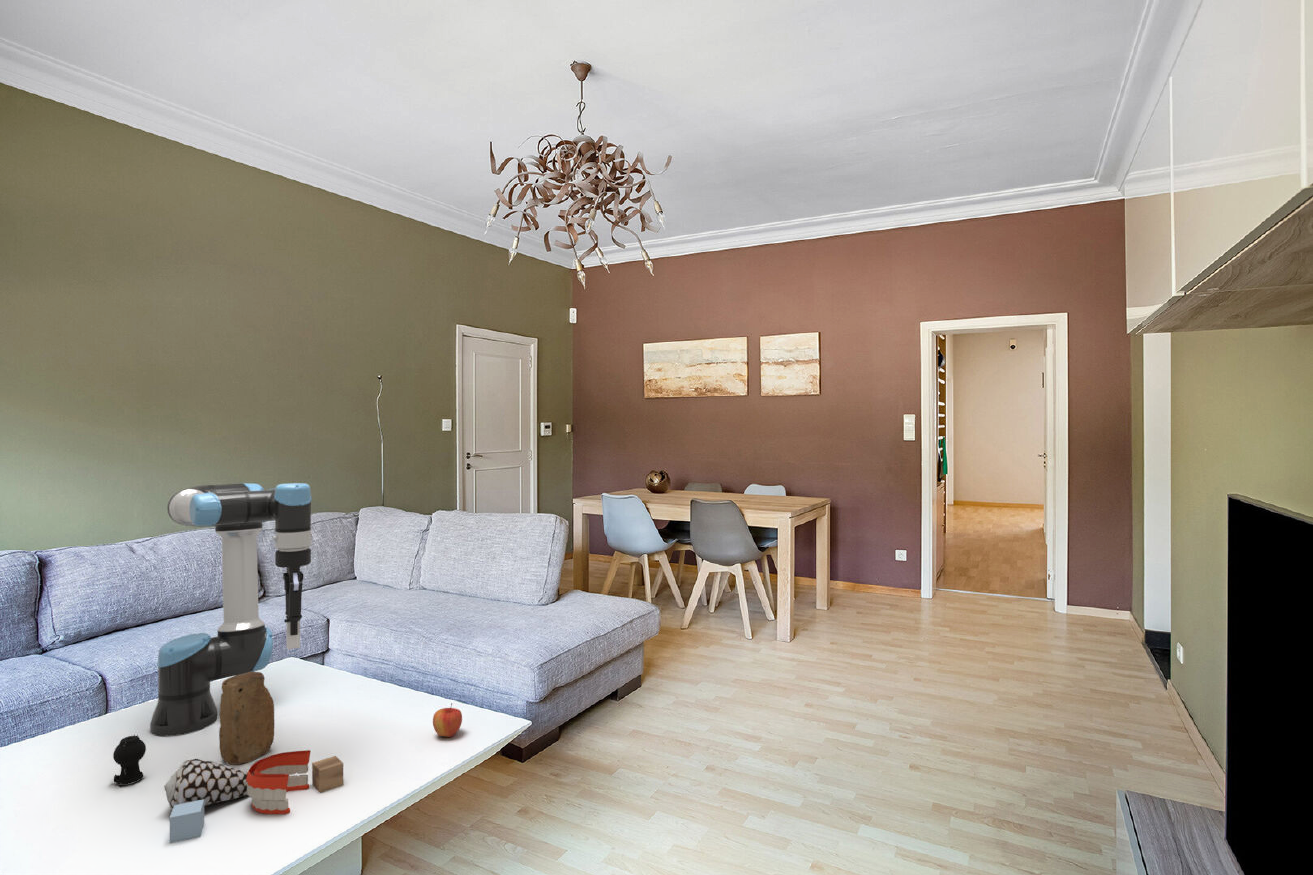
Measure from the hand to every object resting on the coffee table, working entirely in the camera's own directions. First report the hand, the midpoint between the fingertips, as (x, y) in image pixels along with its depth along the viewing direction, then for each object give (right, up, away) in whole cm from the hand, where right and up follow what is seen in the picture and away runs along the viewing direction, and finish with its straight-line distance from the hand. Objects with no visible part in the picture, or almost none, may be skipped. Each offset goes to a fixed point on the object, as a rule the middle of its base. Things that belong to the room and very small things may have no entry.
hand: (293, 647), depth 163 cm
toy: (+5, -28, -16) cm, 33 cm away
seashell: (-9, -28, -16) cm, 34 cm away
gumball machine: (-33, -28, -7) cm, 44 cm away
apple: (+32, -28, +16) cm, 45 cm away
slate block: (-6, -28, -28) cm, 40 cm away
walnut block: (+13, -28, -9) cm, 32 cm away
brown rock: (-13, -28, +5) cm, 32 cm away
